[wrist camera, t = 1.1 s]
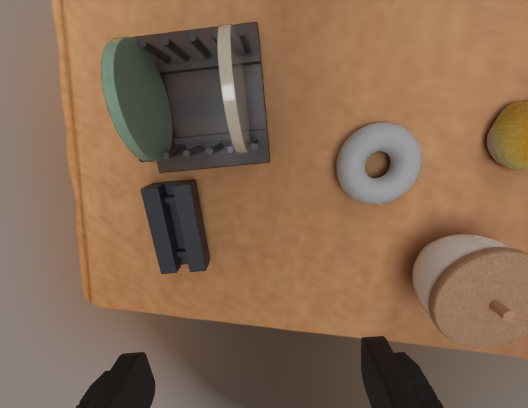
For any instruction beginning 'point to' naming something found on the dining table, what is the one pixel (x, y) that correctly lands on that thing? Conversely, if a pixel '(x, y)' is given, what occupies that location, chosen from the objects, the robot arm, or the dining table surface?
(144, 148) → the sage plate
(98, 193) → the dining table surface
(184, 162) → the dish rack
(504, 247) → the lidded bowl
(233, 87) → the cream plate
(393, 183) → the donut
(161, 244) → the plate stand
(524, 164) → the bread roll
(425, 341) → the dining table surface
